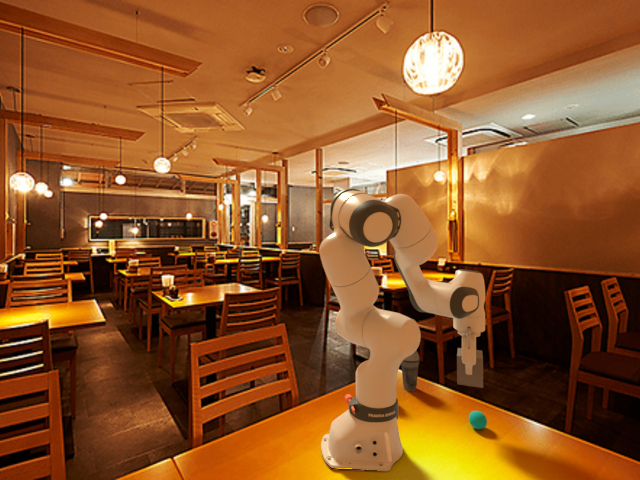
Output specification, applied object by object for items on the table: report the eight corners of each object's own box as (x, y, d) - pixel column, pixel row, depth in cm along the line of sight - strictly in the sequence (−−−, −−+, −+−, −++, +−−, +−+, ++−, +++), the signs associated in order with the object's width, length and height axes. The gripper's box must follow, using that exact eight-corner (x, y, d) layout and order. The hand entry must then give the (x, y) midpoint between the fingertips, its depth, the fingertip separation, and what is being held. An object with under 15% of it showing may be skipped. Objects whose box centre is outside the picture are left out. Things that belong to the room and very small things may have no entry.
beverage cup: (420, 394, 126) (420, 339, 125) (400, 392, 128) (399, 339, 127) (419, 385, 133) (418, 333, 133) (399, 383, 135) (399, 332, 134)
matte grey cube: (483, 388, 100) (482, 358, 100) (457, 384, 103) (456, 355, 103) (482, 377, 107) (482, 350, 107) (458, 374, 110) (457, 347, 109)
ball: (474, 417, 102) (486, 432, 101) (482, 406, 105) (493, 421, 104) (462, 418, 106) (473, 433, 105) (469, 408, 109) (480, 422, 108)
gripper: (481, 334, 94) (481, 384, 94) (479, 315, 112) (479, 357, 113) (456, 331, 96) (456, 380, 97) (458, 313, 115) (458, 355, 116)
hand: (468, 368), depth 105 cm, fingers closed on matte grey cube, 7 cm apart
